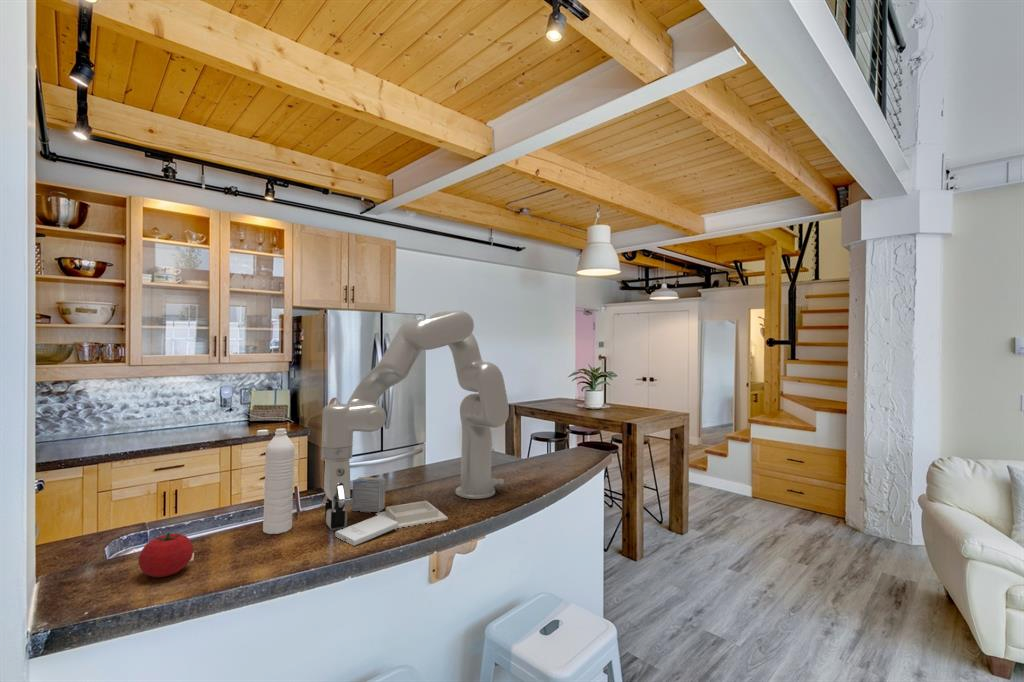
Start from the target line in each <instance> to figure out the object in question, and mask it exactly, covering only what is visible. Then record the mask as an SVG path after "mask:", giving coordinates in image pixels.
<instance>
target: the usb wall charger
mask: <svg viewBox="0 0 1024 682" xmlns="http://www.w3.org/2000/svg"><path fill="white" fill-rule="evenodd" d="M331 512H333V509H328V510H327V512H326V517H325V523H326V525H327V526H328V528H329V529H330V530H331V531H338V530H341V529H342V528H343V529H344V528H346V527H348V513H347V512H346V511H345V525H344V526H343V527H338V528H331Z"/></svg>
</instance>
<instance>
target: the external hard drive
mask: <svg viewBox="0 0 1024 682" xmlns="http://www.w3.org/2000/svg"><path fill="white" fill-rule="evenodd" d="M396 528H398V522H397V521H394V520H392V519H389V518H387V517H384V516H382V515H377V516H376V515H375V516H373V517H369V518H367V519H365V520H362V521H360V522H357V523H354V524H352V525H349V526H346V527H345V528H343V529H338V530H335V533H334V536H335V538H336V537H337V538H336V539H338V538H339V540H340V539H341V541H342V540H343V542H344V541H346V542H347V543H346V542H345V543H346V544H348V543H349V544H348V545H350V544H351V545H350V546H352V545H353V547H354V546H358V545H360V544H362V543H364V542H367V541H369V540H372V539H374V538H376V537H379V536H382V535H383V534H386V533H388V532H391V531H393V529H394V530H397V529H396Z"/></svg>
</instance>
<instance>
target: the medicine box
mask: <svg viewBox="0 0 1024 682" xmlns="http://www.w3.org/2000/svg"><path fill="white" fill-rule="evenodd" d="M351 499H352V502H351V503H352V504H351V505H352V506H351V511H360V512H359V513H371V512H377V513H379V512H380V511H381V512H383V510H384V509H386V503H385V502H386V478H384V477H371V476H369V477H367V476H359V477H357V478H355V480H353V481H352V498H351Z"/></svg>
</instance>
